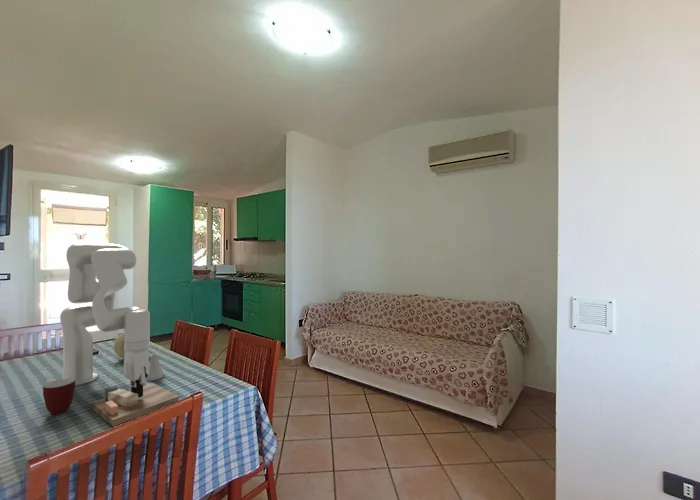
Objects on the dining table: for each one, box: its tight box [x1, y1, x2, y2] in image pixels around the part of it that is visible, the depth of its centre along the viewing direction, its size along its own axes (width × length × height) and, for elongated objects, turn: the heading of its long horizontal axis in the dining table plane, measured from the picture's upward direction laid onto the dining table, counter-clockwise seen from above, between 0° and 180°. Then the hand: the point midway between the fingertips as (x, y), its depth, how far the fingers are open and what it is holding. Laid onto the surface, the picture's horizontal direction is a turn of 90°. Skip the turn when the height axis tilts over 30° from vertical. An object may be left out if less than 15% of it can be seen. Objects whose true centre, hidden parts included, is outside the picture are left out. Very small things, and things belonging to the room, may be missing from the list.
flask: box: [145, 353, 165, 382], centre depth 138 cm, size 7×7×10 cm
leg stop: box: [105, 401, 118, 415], centre depth 105 cm, size 6×2×2 cm, turn 54°
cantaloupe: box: [113, 332, 125, 359], centre depth 164 cm, size 15×15×15 cm
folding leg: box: [104, 386, 138, 407], centre depth 112 cm, size 14×4×4 cm, turn 66°
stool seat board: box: [90, 383, 180, 427], centre depth 114 cm, size 20×20×2 cm
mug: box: [42, 378, 76, 416], centre depth 109 cm, size 10×8×10 cm
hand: (137, 397), depth 113 cm, fingers closed
